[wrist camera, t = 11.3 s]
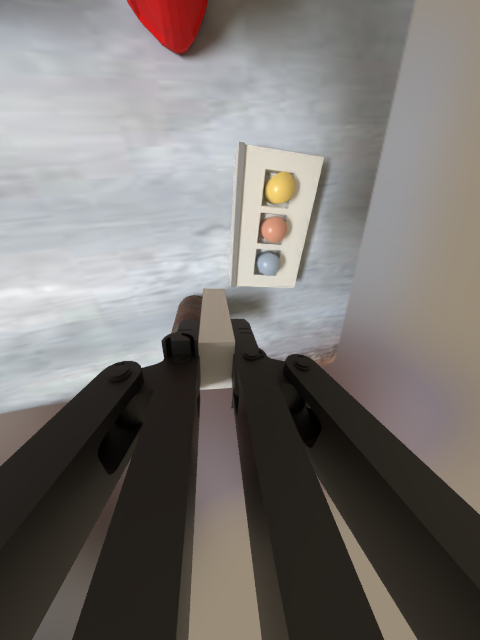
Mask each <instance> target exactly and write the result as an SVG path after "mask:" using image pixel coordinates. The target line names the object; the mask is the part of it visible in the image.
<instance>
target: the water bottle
mask: <svg viewBox="0 0 480 640" xmlns="http://www.w3.org/2000/svg"><path fill="white" fill-rule="evenodd" d="M127 2H128V4H129V5H130V7H131V8H132V10H133V11H134V13H135V14H136V16H137V17H138V19H139V20H140V21H141V23H142V24H143V25H144V26H145V27H146V28H147V29H148V30H149V31H150V32H151V33H152V34H153V35H154V37H155V38H156V39H157V40H158V41H159V42H160V43H161V44H162V45H163V46H164V47H166V48H168V49H170V50H171V51H173V52H175V53H177V54H179V53H182V52H186V51H187V50H188V49H189V47H190V46H191V45H192V43H193V42H194V40H195V38H196V36H197V33H198V30H199V28H200V25H201V22H202V20H203V17H204V14H205V11H206V6H207V0H127Z"/></svg>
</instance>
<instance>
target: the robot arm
mask: <svg viewBox="0 0 480 640" xmlns="http://www.w3.org/2000/svg"><path fill="white" fill-rule="evenodd" d="M162 348H163V354H164V360H163V361H162V362H160V363H158V364H155V365H152V366H148V367H144V368H141V366H140V365H139V364H138V363H137V362H133V361H123V362H118V363H115V364H113V365H111V366H108V367H107V368H106V369H104V370H103V371H102V372H101V373H100V374H98V375H97V376H96V377H95V378H94V379H93V380H92V381H91V382H90V383H89V384H88V385H87V386H86V387H85V388H84V389H82V390H81V391H80V392H79V393H78V394H77V395H76V396H75V397H74V398H73V399H72V400H71V401H70V402H69V403H68V404H67V405H65V406H64V407H63V408H62V409H61V410H60V411H59V412H58V413H57V414H56V415H55V416H54V417H53V418H52V419H51V420H49V421H48V422H47V423H46V424H45V425H44V426H43V427H42V428H41V429H40V430H39V431H38V432H37V433H36V434H34V436H32V438H30V439H29V440H28V441H27V442H26V443H25V444H24V445H23V446H22V447H21V448H20V449H18V451H16V452H15V453H14V454H13V455H12V456H11V457H10V458H9V459H8V460H7V461H6V462H5V463H4V464H3V465H1V466H0V640H32V638H33V637H34V635H35V633H36V631H37V629H38V627H39V625H40V623H41V622H42V620H43V618H44V616H45V615H46V613H47V611H48V609H49V607H50V605H51V604H52V602H53V600H54V598H55V596H56V594H57V593H58V591H59V589H60V587H61V585H62V583H63V582H64V580H65V578H66V576H67V574H68V572H69V571H70V569H71V567H72V565H73V563H74V561H75V560H76V558H77V556H78V554H79V552H80V550H81V549H82V547H83V545H84V543H85V541H86V539H87V538H88V536H89V534H90V532H91V530H92V528H93V527H94V525H95V523H96V521H97V519H98V517H99V516H100V514H101V512H102V510H103V508H104V507H105V505H106V503H107V501H108V499H109V497H110V495H111V494H112V492H113V490H114V488H115V486H116V484H117V482H118V481H119V479H120V477H121V475H122V474H123V472H124V470H125V468H126V466H127V464H128V463H129V461H130V459H131V461H130V464H129V467H128V470H127V473H126V477H125V480H124V483H123V486H122V489H121V492H120V495H119V498H118V501H117V504H116V507H115V510H114V514H113V516H112V519H111V522H110V525H109V529H108V532H107V535H106V538H105V541H104V544H103V547H102V550H101V553H100V556H99V559H98V562H97V565H96V568H95V571H94V574H93V577H92V580H91V584H90V587H89V590H88V593H87V596H86V599H85V602H84V605H83V608H82V611H81V614H80V617H79V621H78V623H77V626H76V630H75V633H74V636H73V639H72V640H188V633H189V613H190V594H191V574H192V554H193V534H194V515H195V494H196V475H197V456H198V435H199V417H200V390H203V389H218V388H231V387H232V386H233V396H232V407H231V408H234V414H235V422H236V431H237V440H238V448H239V455H240V464H241V472H242V480H243V489H244V496H245V505H246V513H247V521H248V529H249V537H250V546H251V554H252V562H253V570H254V579H255V587H256V595H257V603H258V611H259V619H260V627H261V636H262V640H384V638H383V636H382V633H381V631H380V629H379V626H378V624H377V621H376V619H375V616H374V614H373V612H372V609H371V607H370V604H369V602H368V600H367V597H366V595H365V592H364V590H363V588H362V585H361V583H360V580H359V578H358V575H357V573H356V571H355V568H354V566H353V563H352V561H351V558H350V556H349V554H348V551H347V549H346V546H345V544H344V541H343V539H342V537H341V534H340V532H339V529H338V527H337V525H336V522H335V520H334V517H333V515H332V512H331V510H330V508H329V505H328V503H327V500H326V498H325V495H324V493H323V491H322V488H321V486H320V483H319V481H318V479H317V476H318V478H319V480H320V481H321V483H322V485H323V486H324V488H325V489H326V491H327V493H328V494H329V496H330V498H331V499H332V501H333V503H334V504H335V506H336V507H337V509H338V511H339V512H340V514H341V516H342V517H343V519H344V520H345V522H346V524H347V525H348V527H349V529H350V530H351V532H352V533H353V535H354V537H355V538H356V540H357V542H358V543H359V545H360V546H361V548H362V550H363V551H364V553H365V554H366V556H367V558H368V560H369V561H370V563H371V564H372V566H373V568H374V569H375V571H376V572H377V574H378V576H379V577H380V579H381V581H382V582H383V584H384V585H385V587H386V588H387V590H388V592H389V594H390V595H391V597H392V599H393V600H394V602H395V603H396V605H397V607H398V608H399V610H400V611H401V613H402V615H403V616H404V618H405V619H406V621H407V623H408V625H409V626H410V628H411V629H412V631H413V633H414V634H415V636H416V637H417V639H418V640H480V515H479V514H478V513H477V512H476V511H475V510H474V509H473V508H472V507H471V506H470V505H469V504H467V502H465V501H464V500H463V499H462V498H461V497H460V496H459V495H458V494H457V493H456V492H455V491H454V490H452V489H451V488H450V487H449V486H448V485H447V484H446V483H445V482H444V481H443V480H442V479H441V478H439V477H438V476H437V475H436V474H435V473H434V472H433V471H432V470H431V469H430V468H429V467H428V466H427V465H426V464H424V463H423V462H422V461H421V460H420V459H419V458H418V457H417V456H416V455H415V454H414V453H413V452H412V451H410V450H409V449H408V448H407V447H406V446H405V445H404V444H403V443H402V442H401V441H400V440H398V439H397V438H396V437H395V436H394V435H393V434H392V433H391V432H390V431H389V430H388V429H387V428H385V426H384V425H382V424H381V423H380V422H379V421H378V420H377V419H376V418H375V417H374V416H373V415H372V414H371V413H370V412H368V411H367V410H366V409H365V408H364V407H363V406H362V405H361V404H360V403H359V402H358V401H356V399H354V398H353V397H352V396H351V395H350V394H349V393H348V392H347V391H346V390H345V389H344V388H342V386H340V385H339V384H338V383H337V382H336V381H335V380H334V379H333V378H332V377H331V376H330V375H329V374H327V373H326V372H325V371H324V370H323V369H322V368H321V367H320V366H319V365H318V364H317V363H316V362H315V361H313V360H312V359H310V358H309V357H306V356H304V355H300V354H292V355H290V356H288V357H287V358H286V360H285V361H280V360H275V359H271V358H269V357H267V355H266V353H265V352H264V351H263V350H262V349H260V348H258V345H257V343H256V340H255V338H254V335H253V332H252V330H251V327H250V324H249V323H248V322H247V321H246V320H245V319H230V314H229V309H228V305H227V300H226V295H225V290H224V289H203V299H202V309H201V319H200V320H183V321H182V322H181V323H180V324H179V327H178V331H177V332H174V333H171V334H169V335H167V336H166V337H164V338H163V340H162ZM131 457H132V458H131ZM315 473H316V474H315ZM316 475H317V476H316Z"/></svg>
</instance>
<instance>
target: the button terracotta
mask: <svg viewBox="0 0 480 640" xmlns="http://www.w3.org/2000/svg"><path fill="white" fill-rule="evenodd" d="M259 233H260V235H261V237H262V238H263V239H265V240H267V241H270V242H273V243H276V242H279V241H281V240H282V239H283V238H284V237H285V235H286V233H287V224H286V222H285V221H284V219H282V218H280V217H268V218H265V219H264V220H263V221H262V222H261V224H260V227H259Z"/></svg>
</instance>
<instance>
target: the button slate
mask: <svg viewBox="0 0 480 640" xmlns="http://www.w3.org/2000/svg"><path fill="white" fill-rule="evenodd" d="M256 266H257V268H258V269H259V270H260V271H261V272H262V273H263V274H264V275H266V276H272V275H275V274H276V273H277V272H278V271H279V269H280V266H281V262H280V259H279V258H278V257H277V256H276V255H274V254H272V253H270V252H268V251H263V252H261V253H260V254H258V256H257V257H256Z"/></svg>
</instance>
